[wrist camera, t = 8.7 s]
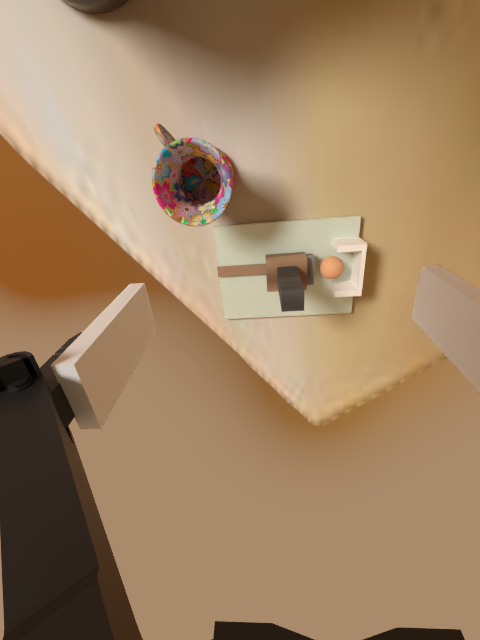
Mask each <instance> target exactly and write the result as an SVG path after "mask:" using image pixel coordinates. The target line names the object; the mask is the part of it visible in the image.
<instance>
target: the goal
mask: <svg viewBox="0 0 480 640" xmlns="http://www.w3.org/2000/svg"><path fill="white" fill-rule="evenodd" d="M332 246H333V247H334V249H335V250H336V251H337V252H338V253H340V252H353V263H352V273H351V280H349V281H332V282H329V288H330V290H331V292H332V294H333V295H334V297H350V296H361V295H362V286H363V277H364V269H365V260H366V251H367V243H366V242H365V241H364V240H362V239H361V238H360V237H349V238H335V239H332Z"/></svg>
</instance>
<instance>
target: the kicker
mask: <svg viewBox="0 0 480 640" xmlns="http://www.w3.org/2000/svg"><path fill="white" fill-rule="evenodd" d="M265 256H266V278H267V292H276V291H279V297H280V304H281V310H282V312H287V311H304V292H305V290H307V285H314V258H315V257H314V255H313V254H305V252H296V253H282V254H267V255H265Z"/></svg>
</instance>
